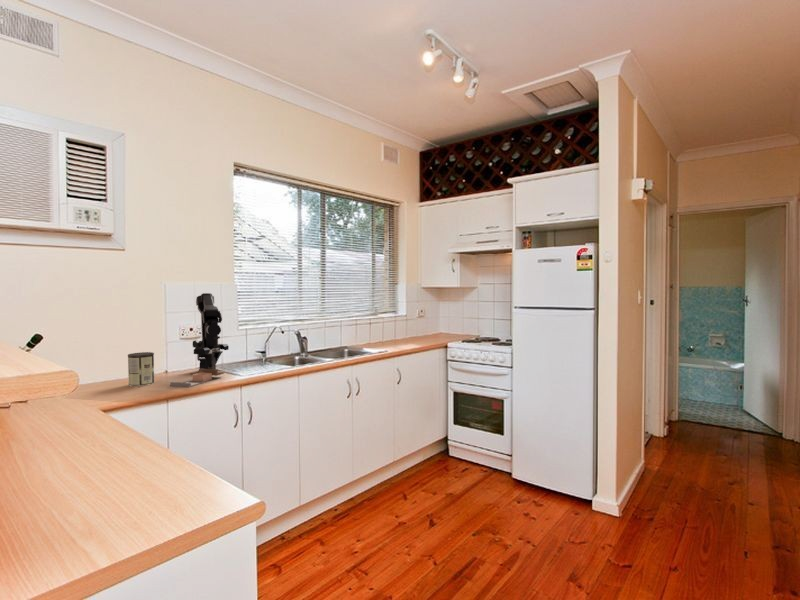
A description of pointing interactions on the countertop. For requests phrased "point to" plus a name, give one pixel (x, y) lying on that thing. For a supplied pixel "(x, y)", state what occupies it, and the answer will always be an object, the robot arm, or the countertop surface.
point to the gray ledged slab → (190, 383)
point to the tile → (202, 377)
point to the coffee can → (141, 369)
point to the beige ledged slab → (212, 369)
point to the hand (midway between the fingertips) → (211, 366)
